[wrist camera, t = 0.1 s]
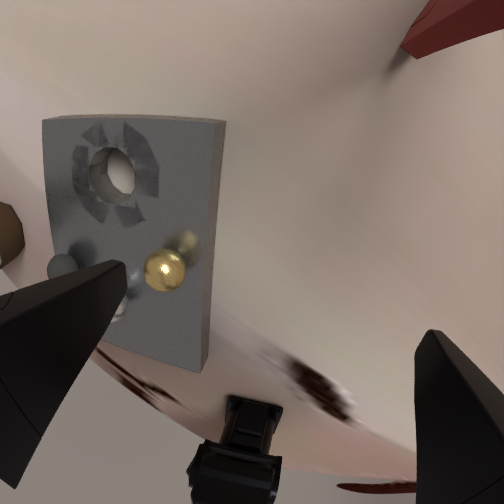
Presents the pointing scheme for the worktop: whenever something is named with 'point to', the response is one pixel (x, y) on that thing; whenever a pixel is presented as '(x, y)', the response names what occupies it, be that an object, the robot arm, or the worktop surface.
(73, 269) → the black ball
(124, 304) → the steel ball
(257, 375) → the worktop surface
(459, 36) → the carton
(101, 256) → the plate
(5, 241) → the beer bottle
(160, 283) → the brass ball
